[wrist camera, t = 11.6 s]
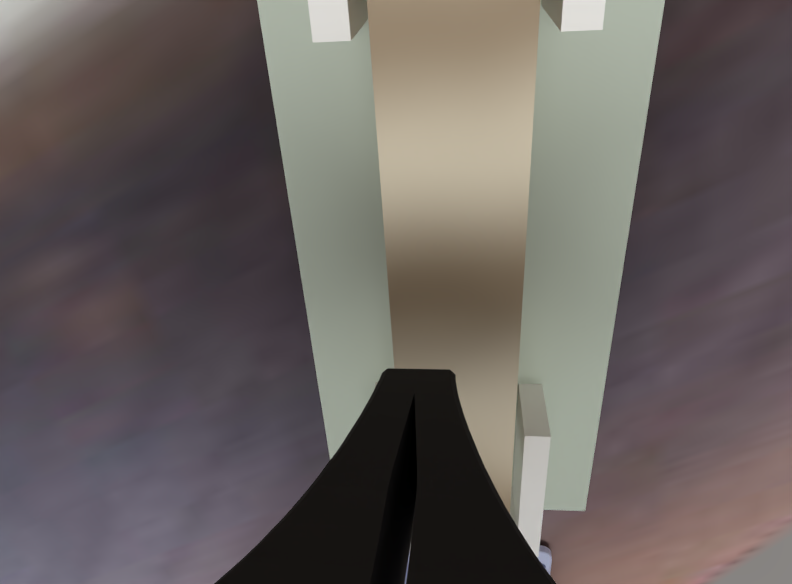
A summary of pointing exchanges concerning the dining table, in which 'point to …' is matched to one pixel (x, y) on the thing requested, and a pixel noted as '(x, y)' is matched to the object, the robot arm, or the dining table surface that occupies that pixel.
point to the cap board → (546, 224)
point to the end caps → (570, 11)
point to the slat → (458, 196)
